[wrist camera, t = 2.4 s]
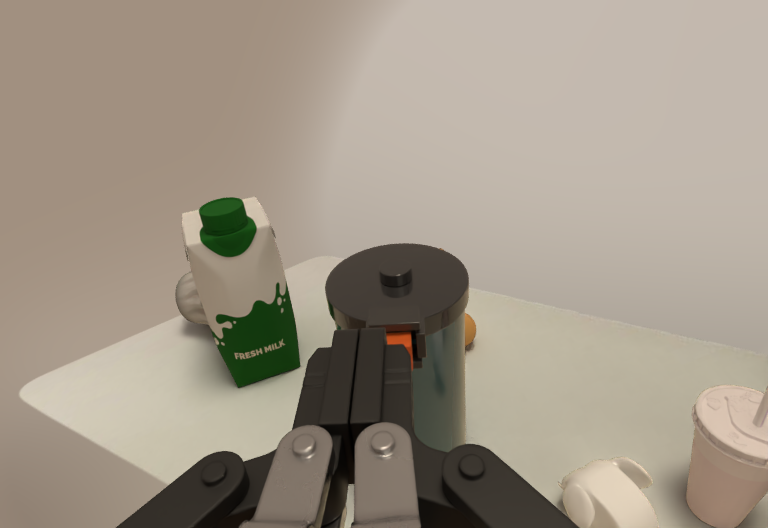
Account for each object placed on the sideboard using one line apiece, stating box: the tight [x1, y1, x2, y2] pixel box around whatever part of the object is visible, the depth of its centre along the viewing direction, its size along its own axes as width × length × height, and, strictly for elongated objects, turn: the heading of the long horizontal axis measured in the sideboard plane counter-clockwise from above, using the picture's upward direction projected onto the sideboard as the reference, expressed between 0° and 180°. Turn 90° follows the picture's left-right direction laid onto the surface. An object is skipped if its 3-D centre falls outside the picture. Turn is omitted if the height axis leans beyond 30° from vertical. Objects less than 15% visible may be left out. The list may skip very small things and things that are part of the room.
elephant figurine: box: [558, 457, 658, 528], centre depth 36 cm, size 7×8×6 cm
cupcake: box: [176, 272, 209, 325], centre depth 62 cm, size 9×9×10 cm
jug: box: [325, 243, 469, 452], centre depth 42 cm, size 15×11×19 cm
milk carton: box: [182, 197, 300, 388], centre depth 52 cm, size 9×9×20 cm
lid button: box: [386, 332, 413, 370], centre depth 31 cm, size 1×2×2 cm
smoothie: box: [686, 385, 768, 528], centre depth 34 cm, size 6×6×14 cm
